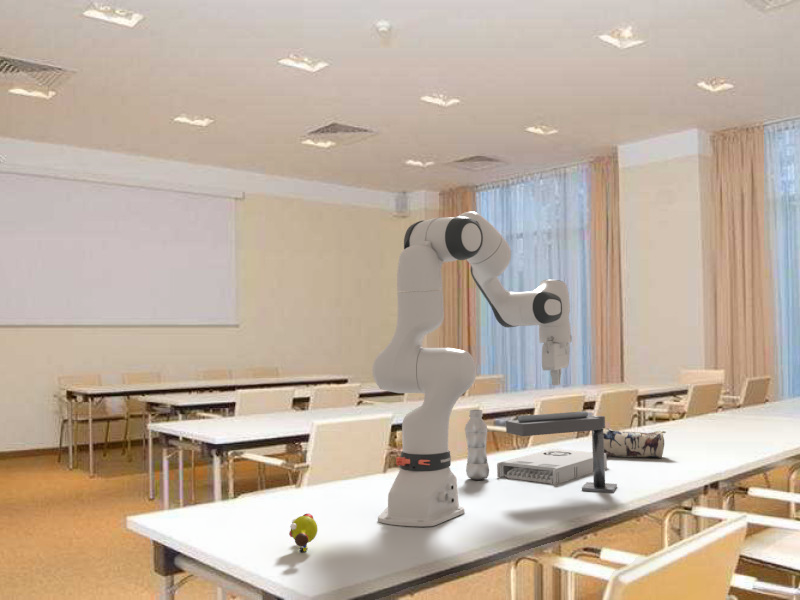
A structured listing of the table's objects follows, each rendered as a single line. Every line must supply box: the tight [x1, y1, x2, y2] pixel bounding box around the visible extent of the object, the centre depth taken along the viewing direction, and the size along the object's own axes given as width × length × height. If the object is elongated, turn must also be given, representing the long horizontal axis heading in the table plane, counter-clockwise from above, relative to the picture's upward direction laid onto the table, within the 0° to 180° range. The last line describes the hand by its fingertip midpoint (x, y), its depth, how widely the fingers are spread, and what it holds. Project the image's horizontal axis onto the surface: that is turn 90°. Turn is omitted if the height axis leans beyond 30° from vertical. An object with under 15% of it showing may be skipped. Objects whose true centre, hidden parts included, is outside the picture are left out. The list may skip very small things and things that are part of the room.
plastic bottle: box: [464, 409, 490, 481], centre depth 217 cm, size 6×7×20 cm
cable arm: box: [505, 411, 606, 437], centre depth 196 cm, size 28×8×5 cm, turn 113°
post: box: [581, 428, 618, 494], centre depth 201 cm, size 8×8×16 cm
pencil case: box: [602, 427, 667, 459], centre depth 251 cm, size 22×8×10 cm, turn 68°
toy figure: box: [289, 513, 318, 553], centre depth 148 cm, size 18×6×7 cm, turn 3°
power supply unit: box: [496, 448, 608, 486], centre depth 226 cm, size 19×33×5 cm, turn 139°
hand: (556, 385), depth 213 cm, fingers closed
